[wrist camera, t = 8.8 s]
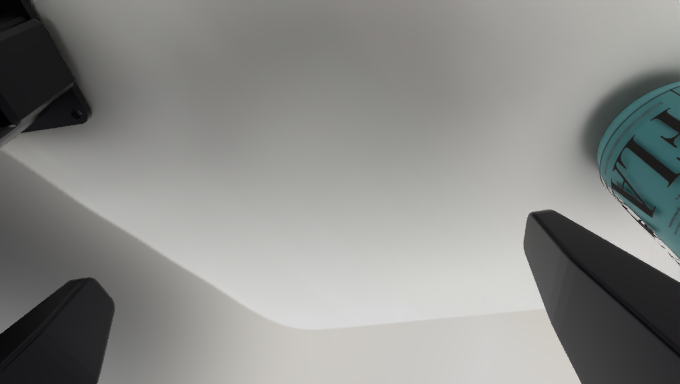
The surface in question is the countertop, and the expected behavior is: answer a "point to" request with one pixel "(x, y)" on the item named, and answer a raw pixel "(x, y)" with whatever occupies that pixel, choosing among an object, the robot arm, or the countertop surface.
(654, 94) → the beverage bottle
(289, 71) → the countertop surface
